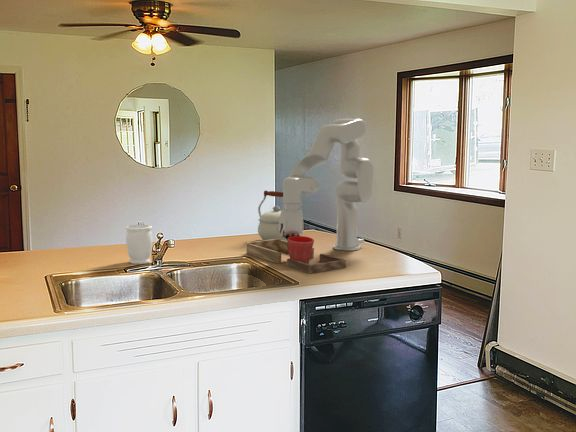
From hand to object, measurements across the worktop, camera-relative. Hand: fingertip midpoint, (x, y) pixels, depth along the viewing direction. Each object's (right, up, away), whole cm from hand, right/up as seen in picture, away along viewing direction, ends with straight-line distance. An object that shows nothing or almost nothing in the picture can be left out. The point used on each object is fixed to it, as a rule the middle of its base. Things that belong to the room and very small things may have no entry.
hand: (291, 249), depth 251 cm
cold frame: (-5, -3, +8) cm, 10 cm away
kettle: (-6, +1, +42) cm, 42 cm away
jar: (-63, -5, -7) cm, 63 cm away
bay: (+10, -6, -12) cm, 17 cm away
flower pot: (+3, -5, -4) cm, 7 cm away
